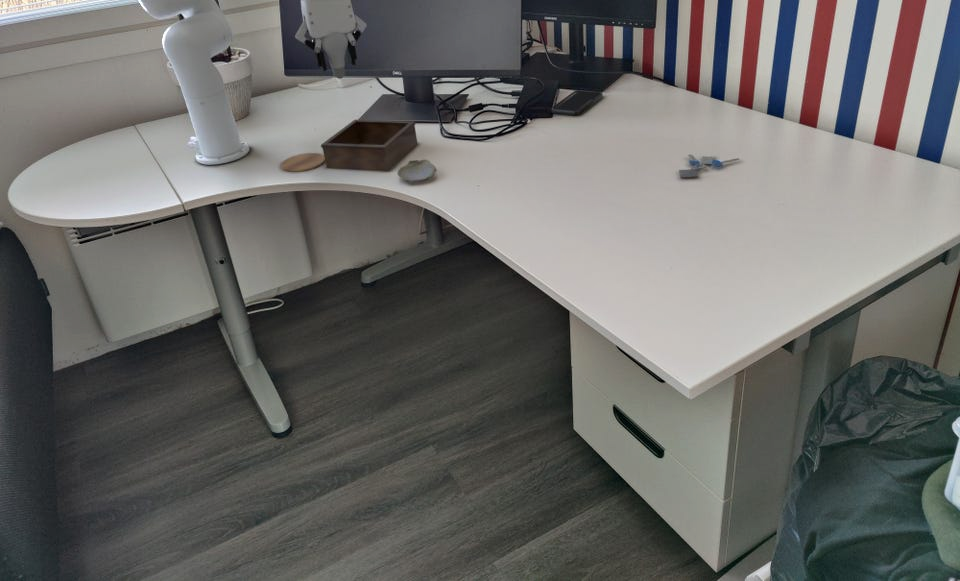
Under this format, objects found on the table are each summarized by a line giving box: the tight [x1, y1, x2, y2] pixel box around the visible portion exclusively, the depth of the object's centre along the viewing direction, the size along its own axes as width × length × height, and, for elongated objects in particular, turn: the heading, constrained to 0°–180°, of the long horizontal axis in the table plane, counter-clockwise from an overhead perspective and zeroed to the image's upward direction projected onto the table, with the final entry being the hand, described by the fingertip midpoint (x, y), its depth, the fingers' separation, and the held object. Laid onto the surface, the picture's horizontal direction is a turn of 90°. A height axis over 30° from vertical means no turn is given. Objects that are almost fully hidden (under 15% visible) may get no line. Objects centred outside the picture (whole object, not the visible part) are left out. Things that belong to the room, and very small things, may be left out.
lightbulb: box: [321, 32, 348, 80], centre depth 157 cm, size 6×6×11 cm
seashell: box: [397, 159, 438, 183], centre depth 156 cm, size 8×3×8 cm
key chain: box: [678, 154, 740, 178], centre depth 147 cm, size 14×8×1 cm, turn 121°
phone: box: [551, 89, 603, 117], centre depth 185 cm, size 8×1×15 cm
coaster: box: [280, 152, 326, 173], centre depth 170 cm, size 10×10×1 cm
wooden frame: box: [320, 119, 418, 172], centre depth 168 cm, size 16×16×6 cm
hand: (337, 65), depth 159 cm, fingers closed on lightbulb, 5 cm apart
